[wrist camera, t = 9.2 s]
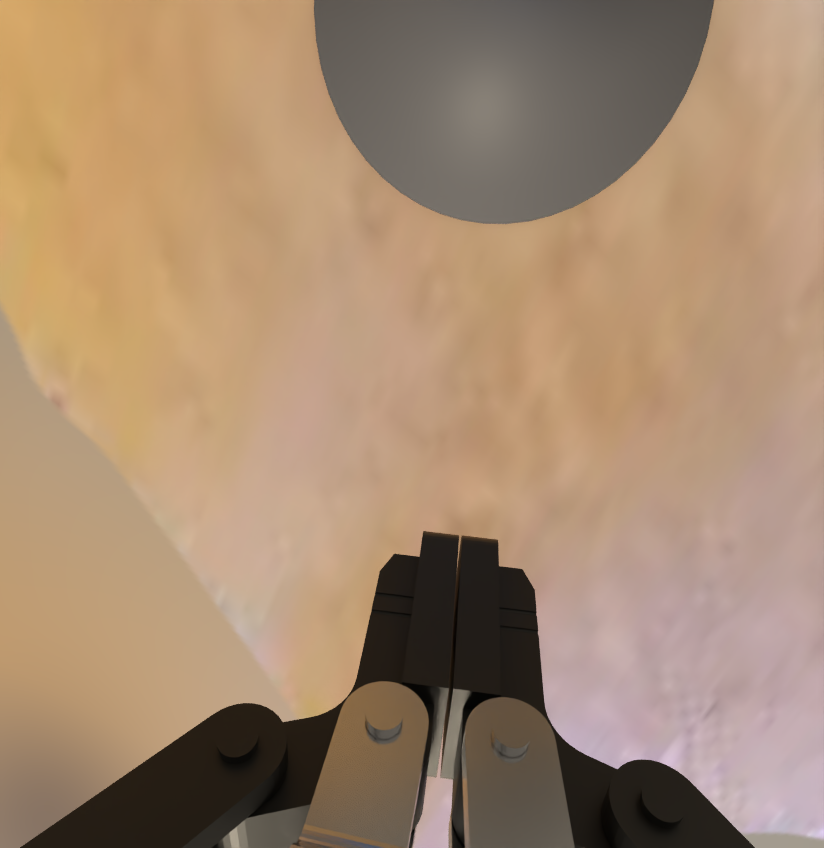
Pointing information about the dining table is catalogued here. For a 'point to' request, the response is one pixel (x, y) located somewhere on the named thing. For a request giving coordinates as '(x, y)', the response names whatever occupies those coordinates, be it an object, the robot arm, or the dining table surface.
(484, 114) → the disc
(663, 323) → the dining table surface
